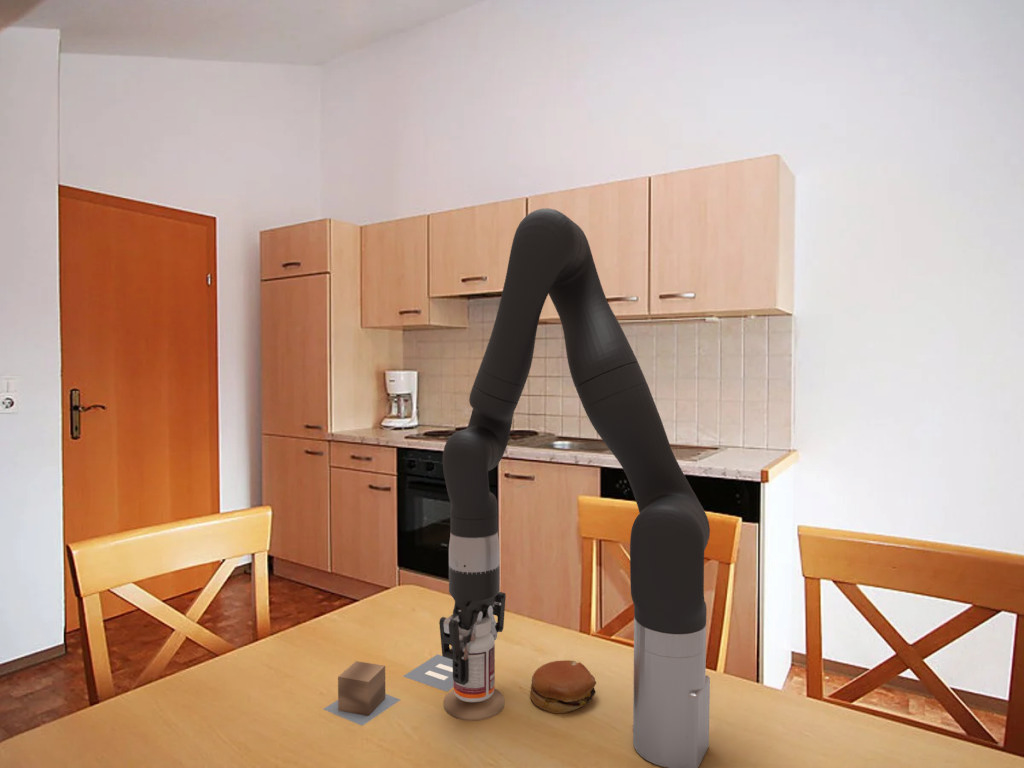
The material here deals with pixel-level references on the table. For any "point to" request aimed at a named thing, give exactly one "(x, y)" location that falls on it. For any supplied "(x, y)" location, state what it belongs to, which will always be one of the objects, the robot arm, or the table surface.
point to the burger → (562, 686)
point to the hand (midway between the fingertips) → (474, 672)
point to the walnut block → (361, 688)
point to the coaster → (473, 707)
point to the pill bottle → (479, 665)
